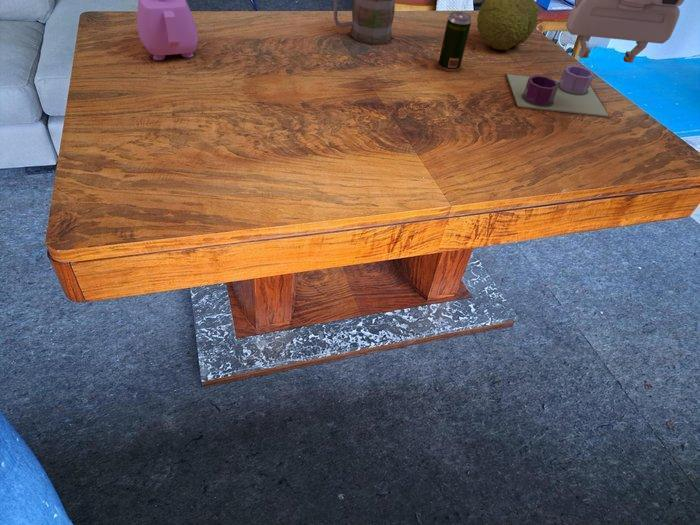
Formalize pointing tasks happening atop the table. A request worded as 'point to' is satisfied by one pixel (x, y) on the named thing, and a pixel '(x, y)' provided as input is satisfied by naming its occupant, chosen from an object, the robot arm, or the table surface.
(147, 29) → the pink rounded piece
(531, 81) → the plum dish
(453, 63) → the beer can
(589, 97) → the mat
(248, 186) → the table surface
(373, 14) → the mug
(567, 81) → the lavender dish
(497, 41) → the fruit
